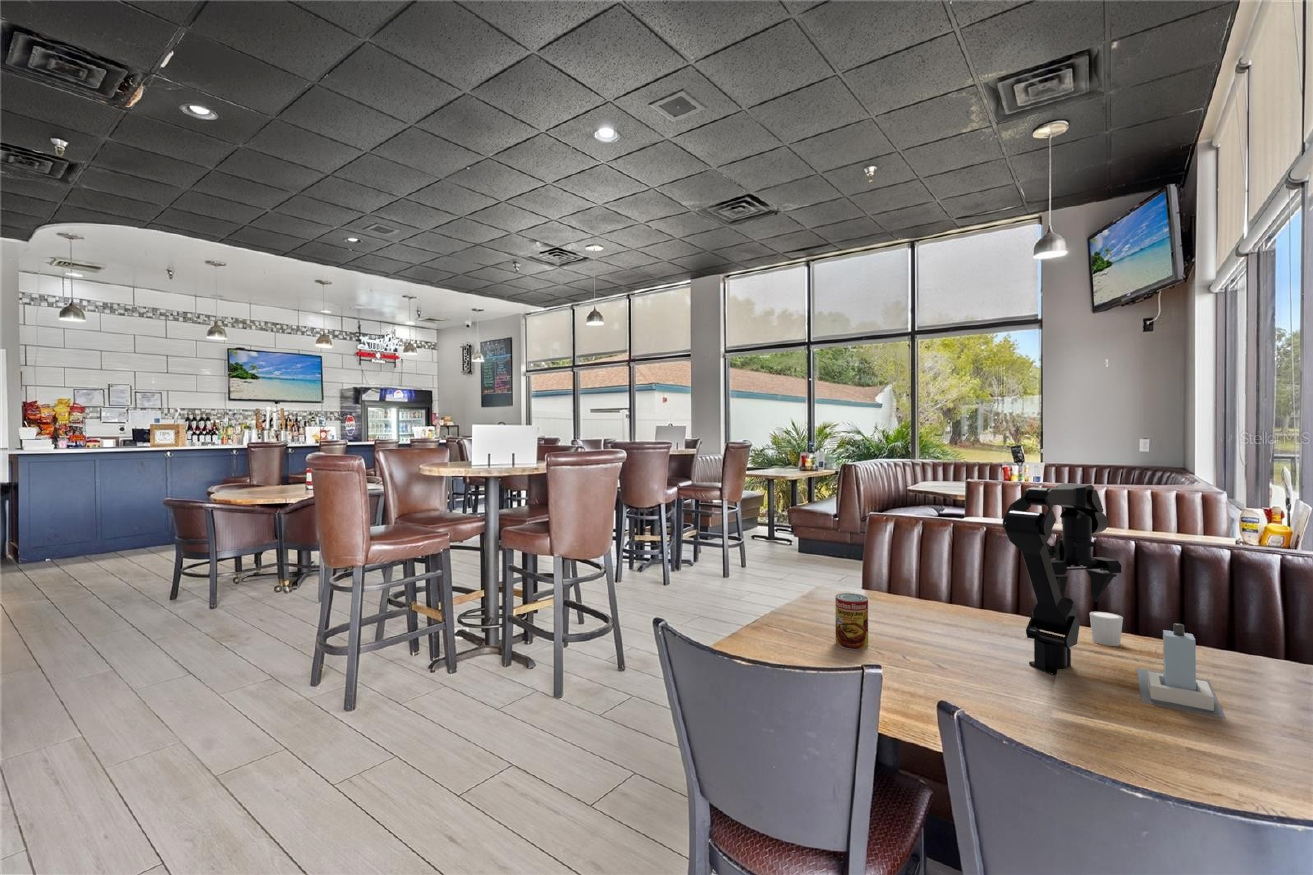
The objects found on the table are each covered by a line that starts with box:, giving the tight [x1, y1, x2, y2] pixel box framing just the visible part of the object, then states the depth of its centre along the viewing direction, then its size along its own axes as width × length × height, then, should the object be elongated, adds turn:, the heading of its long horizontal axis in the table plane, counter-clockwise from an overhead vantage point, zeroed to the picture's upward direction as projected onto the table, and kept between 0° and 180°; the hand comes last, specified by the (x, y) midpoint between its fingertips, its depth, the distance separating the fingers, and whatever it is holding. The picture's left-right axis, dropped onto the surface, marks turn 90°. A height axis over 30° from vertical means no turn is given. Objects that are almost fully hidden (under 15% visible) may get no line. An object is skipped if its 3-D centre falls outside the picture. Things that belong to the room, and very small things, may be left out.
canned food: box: [835, 592, 869, 651], centre depth 152 cm, size 8×8×12 cm
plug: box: [1162, 622, 1197, 691], centre depth 117 cm, size 4×4×14 cm
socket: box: [1148, 671, 1214, 714], centre depth 117 cm, size 9×9×3 cm
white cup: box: [1089, 611, 1124, 647], centre depth 154 cm, size 7×7×7 cm
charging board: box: [1135, 667, 1227, 720], centre depth 121 cm, size 22×12×1 cm, turn 143°
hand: (1077, 602), depth 143 cm, fingers open, 9 cm apart
